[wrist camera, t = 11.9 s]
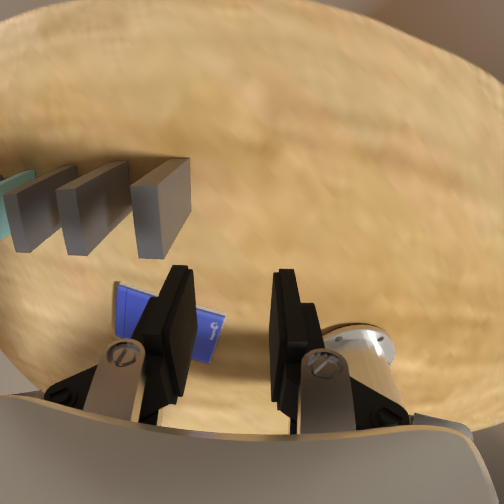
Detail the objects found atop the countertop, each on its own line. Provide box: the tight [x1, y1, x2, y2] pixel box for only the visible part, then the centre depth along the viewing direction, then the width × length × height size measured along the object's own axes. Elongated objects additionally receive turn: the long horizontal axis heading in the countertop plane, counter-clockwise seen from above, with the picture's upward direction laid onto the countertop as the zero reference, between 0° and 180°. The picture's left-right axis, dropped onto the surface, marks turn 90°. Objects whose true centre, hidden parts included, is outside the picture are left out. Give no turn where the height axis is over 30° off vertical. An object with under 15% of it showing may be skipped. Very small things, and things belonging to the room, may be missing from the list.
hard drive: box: [116, 282, 226, 364], centre depth 34 cm, size 2×8×12 cm
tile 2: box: [55, 160, 132, 256], centre depth 23 cm, size 2×5×10 cm, turn 178°
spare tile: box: [0, 169, 36, 241], centre depth 23 cm, size 2×5×10 cm, turn 178°
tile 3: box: [3, 165, 78, 253], centre depth 23 cm, size 2×5×10 cm, turn 178°
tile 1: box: [130, 158, 191, 259], centre depth 23 cm, size 2×5×10 cm, turn 178°
